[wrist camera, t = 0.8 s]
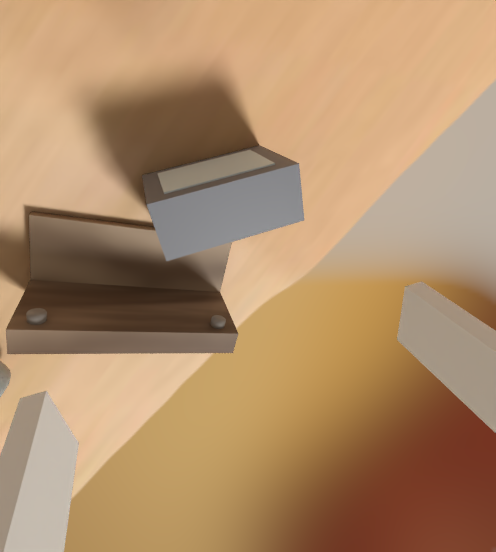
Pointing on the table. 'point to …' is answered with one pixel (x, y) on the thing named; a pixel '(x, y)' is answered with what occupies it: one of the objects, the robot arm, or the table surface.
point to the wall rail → (117, 293)
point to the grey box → (222, 199)
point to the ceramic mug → (4, 377)
